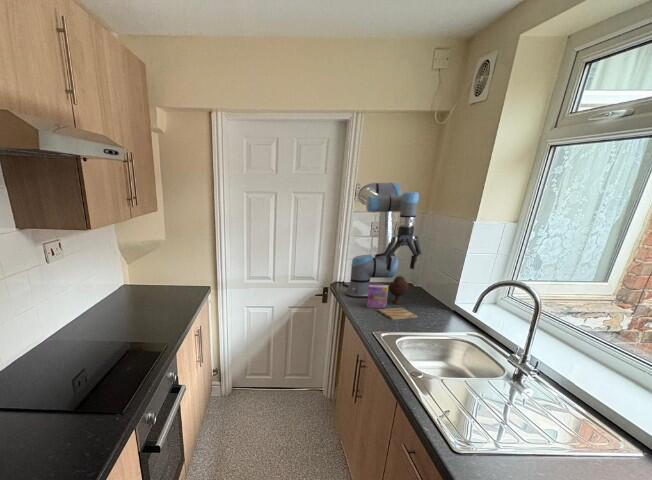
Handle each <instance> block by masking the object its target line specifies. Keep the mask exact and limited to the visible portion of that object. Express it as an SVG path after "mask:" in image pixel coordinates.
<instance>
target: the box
mask: <svg viewBox="0 0 652 480" xmlns="http://www.w3.org/2000/svg"><path fill="white" fill-rule="evenodd" d="M388 293H389V285H387V284H371V283H370V284H369V289H368V297H366V298H367V301H366V308H371V309H387V304H388V303H387V302H388Z"/></svg>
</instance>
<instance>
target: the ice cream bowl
mask: <svg viewBox="0 0 652 480" xmlns="http://www.w3.org/2000/svg"><path fill="white" fill-rule="evenodd" d="M409 288H410V286H409V283H408V282H407V280H406V278H405V277H404V276H402V275H398V276H396V277H395V278H394V279H393V281H392V282H391V283H390V284H389V285H388V292H389V293H390V294H392V295H393V296H394V297H395V299H394V300H392V301H391V304H393V305H402V301H401V300H399V299H400V297H401V296H403V295H405V294H406V293H407V292H408V290H409Z"/></svg>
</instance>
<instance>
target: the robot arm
mask: <svg viewBox="0 0 652 480" xmlns="http://www.w3.org/2000/svg"><path fill="white" fill-rule="evenodd" d="M419 196H420V194H419V192H418V191H404V192H403V193H402V190H401V186H400V184H399V183H397V182H378V183H377V182H372V183H368V184H365V185H364V186H362V187H361V188H360V189H359V191H358V194H357V198H358V201H359V202H360V203H361V204H363V205H365V206H366V207H365V208H366V212H368V213H369V212H370V213H378V231H377V232H378V233H377V234H378V235H377V251H376V253H375V254H374V257H373V255H372V254H361V255H356V256H354V257H353V258H352V261H351V265H350V266H351V268H350V269H351V270H350V279H349V280H350V281H349V284H346V283H345V281H344V280H342V283H341V284H342V285H343V286H345V287H347V288H346V293H345V294H346V296H348V297H352V298H368V289H369V284H370V285H371V279H376V278H377V279H378V278H381V279H382V278H385V279H387V278H388V279H389V278H393V277H395V275H396V273H397V270H398V268H399V267H398V266H399V257H397V256H396V251H397V250H398V249H399V248H400V247H404V246H405V247H408V248H409V250H410V252H411V253H412V255H411V259H410V265H409V269H411V270H415V265H416V263H417V260H418V257H419V256H420V255H422V249H421V247H420V243H419V236H418V235H414V231H415V227H414V226H415V225H416V218H417V211H418V205H419V201H420V197H419ZM397 212H398V213H400V214H399V219H398V228H397V236H394V228H395V227H394V226H395V213H397ZM412 241H413V242H412Z"/></svg>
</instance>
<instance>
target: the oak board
mask: <svg viewBox="0 0 652 480" xmlns="http://www.w3.org/2000/svg"><path fill="white" fill-rule="evenodd" d="M377 312H379V313H380V314H382V315H384V316H385V317H387V318H389V319H390V320H392V321H394V320H407V319H408V320H409V319H418V317H419V316H418V315H417V314H414V313H413V312H411V311H409V310H407V309H405V308H404V307H392V308H386V309H385V308H377Z"/></svg>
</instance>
